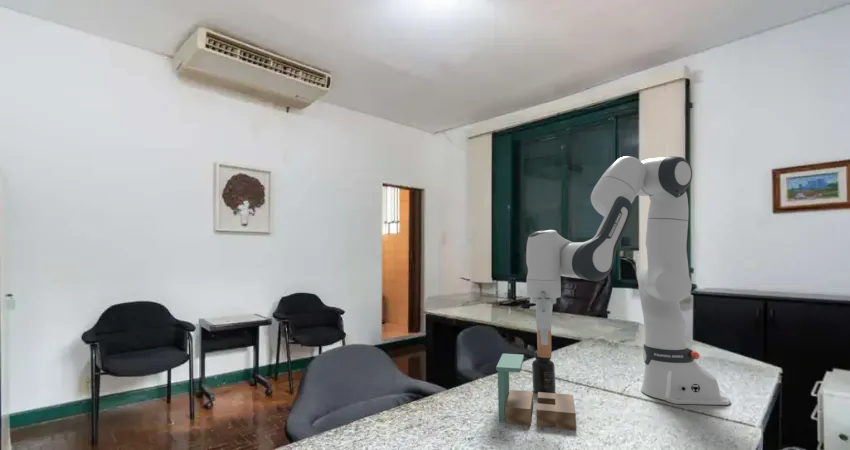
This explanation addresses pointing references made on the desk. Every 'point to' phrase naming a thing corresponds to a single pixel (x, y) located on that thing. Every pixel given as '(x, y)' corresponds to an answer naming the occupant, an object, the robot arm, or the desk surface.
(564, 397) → the socket block
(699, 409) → the desk surface
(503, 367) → the teal u-shaped bracket
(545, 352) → the peg
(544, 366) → the supplement bottle
